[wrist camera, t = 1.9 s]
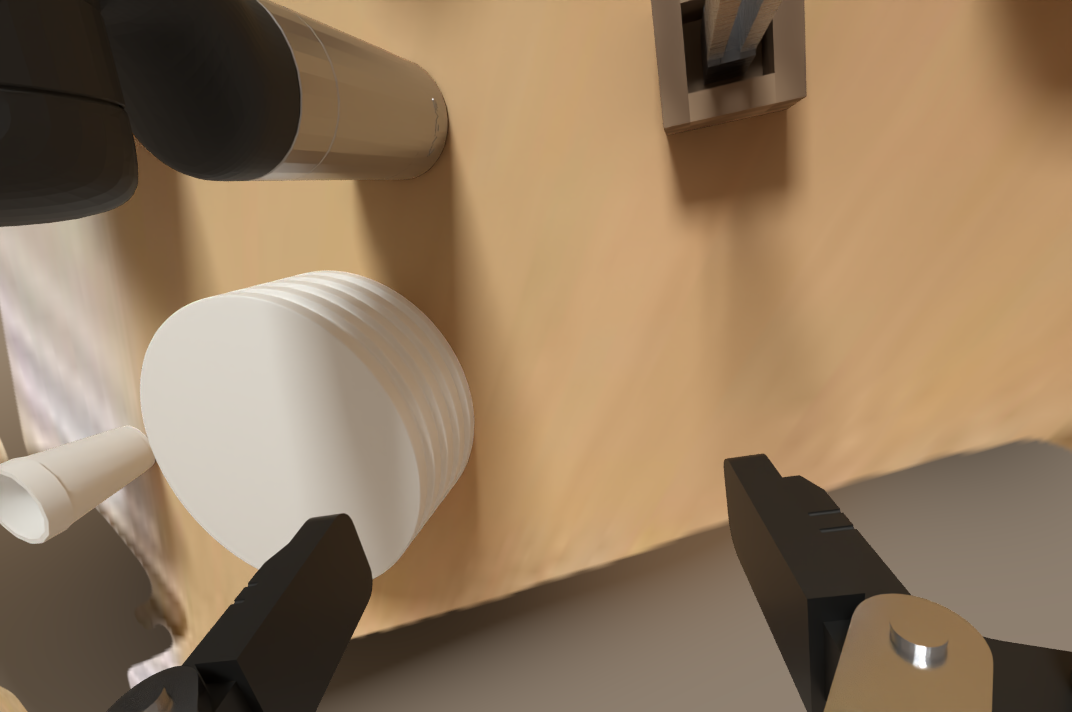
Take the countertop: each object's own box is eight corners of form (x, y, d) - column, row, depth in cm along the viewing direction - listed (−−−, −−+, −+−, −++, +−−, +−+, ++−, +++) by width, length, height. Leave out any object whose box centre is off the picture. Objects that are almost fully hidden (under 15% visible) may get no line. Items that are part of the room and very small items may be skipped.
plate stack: (487, 300, 45) (428, 336, 35) (464, 543, 55) (413, 627, 45) (230, 247, 51) (113, 266, 40) (253, 476, 61) (164, 538, 51)
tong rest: (666, 135, 37) (663, 127, 31) (654, 11, 34) (648, -20, 29) (786, 109, 34) (806, 96, 29) (782, -27, 32) (802, -69, 26)
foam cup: (162, 490, 66) (49, 558, 55) (107, 457, 67) (-16, 517, 56) (167, 436, 62) (47, 495, 51) (108, 402, 63) (-23, 453, 52)
